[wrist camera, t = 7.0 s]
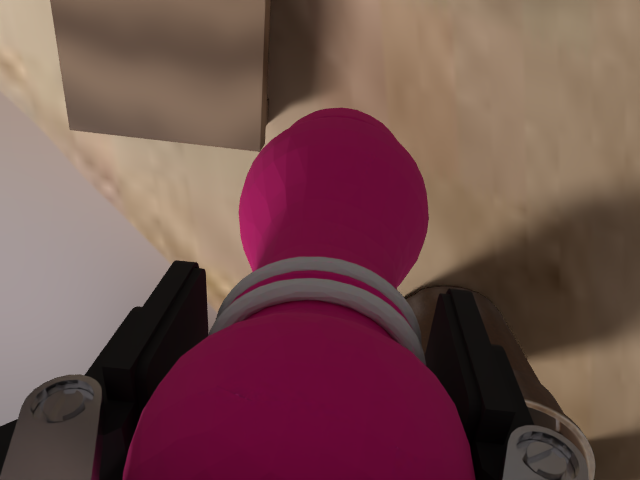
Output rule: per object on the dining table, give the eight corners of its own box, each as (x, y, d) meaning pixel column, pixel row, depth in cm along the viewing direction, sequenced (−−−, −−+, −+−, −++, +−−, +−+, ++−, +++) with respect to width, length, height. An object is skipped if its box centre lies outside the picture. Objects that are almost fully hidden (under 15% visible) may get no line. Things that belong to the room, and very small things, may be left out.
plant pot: (510, 399, 52) (566, 556, 37) (358, 392, 53) (357, 541, 39) (540, 269, 44) (625, 402, 30) (363, 263, 45) (364, 389, 31)
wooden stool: (85, -89, 34) (34, -103, 29) (282, -68, 34) (268, -79, 28) (108, 111, 40) (69, 129, 35) (273, 130, 40) (259, 151, 35)
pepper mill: (240, 206, 24) (-111, 836, 6) (298, 66, 21) (-91, 543, 3) (371, 264, 25) (396, 955, 7) (446, 139, 22) (842, 838, 4)
